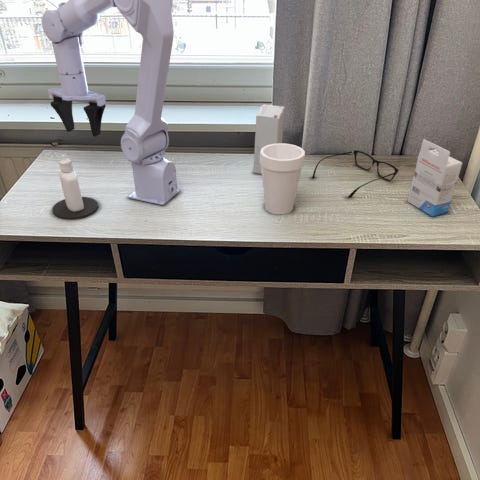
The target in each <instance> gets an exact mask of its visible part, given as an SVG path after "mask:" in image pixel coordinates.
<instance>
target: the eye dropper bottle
mask: <svg viewBox="0 0 480 480" xmlns="http://www.w3.org/2000/svg"><path fill="white" fill-rule="evenodd" d="M58 164H59V168H60V172H59V175H58V176H59V181H60V184H61V188H62V192H63V197H64V199H65V201H66V205H67V207H68V209H69V210H71V211H73V212H77V211H81V210H83V209H84V205H83V200H82V197H83V196H82V191H81V187H80V182H79V177H78V175H77V173H76V172H75V170H74V169H73V164H72V160H71V159H69V158H67V156H66V153H62V154H61V159H60V160H59V161H58Z"/></svg>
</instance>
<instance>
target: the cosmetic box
mask: <svg viewBox="0 0 480 480" xmlns="http://www.w3.org/2000/svg"><path fill="white" fill-rule="evenodd" d="M285 110H286V107H285V106H282V105H271V104H263V103H262V105H261V107H260V108H259V110H258V112H257V113H256V115H255V134H254V135H255V136H254V154H253V173H254V174H260V175H262V171H261V164H260V151H261V149H262V148H263V147H265V146H267V145H271V144H279V143H283V135H284V124H285Z"/></svg>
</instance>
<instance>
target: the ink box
mask: <svg viewBox="0 0 480 480" xmlns="http://www.w3.org/2000/svg"><path fill="white" fill-rule="evenodd" d="M417 156H418V157H417V160H416V165H415V169H414V173H413V178H412V182H411V185H410V191H409V194H408V199H407V202H408V203H410V204H411V205H412V206H414V207H415V208H417V209H419V210H420V211H422V212H424V213H425V214H427V215H428V216H430V217H432V218H433V217H436V216H441V215H443V214H446V213H449V211H450V208H451V203H452V200H453V198H454V197H453V196H454V193H455V190H456V186H457V182H458V181H459V180H458V179H459V177H460V173H461V169H462V166H463V161H460V160H458V159H456V158H454V157H453V156H451V151H450V150H448V149H445V148H444V147H442V146H440V145H438V144H435V143H433V142H431V141H429V140H427V139H426V138H424V139H423V140H422V142H421V146H420V150H419V153H418V155H417Z"/></svg>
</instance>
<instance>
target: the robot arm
mask: <svg viewBox="0 0 480 480" xmlns="http://www.w3.org/2000/svg"><path fill="white" fill-rule="evenodd" d="M173 2H174V0H68V1H66V2H60V3H58V8H56V9H46V10H44V13H43V14H42V16H41V26H42V30H43V32H44V35H45V36H46V37H47V39H48V40H49V41H51V44H52V49H53V54H54V59H55V63H56V68H57V73H58V77H59V81H60V86H61V87H51V88H48V89H47V93H48V98H49V99H52V101H51V102H50V107H52V109H53V110H54V111H55V112H56V114H57V115H58V117H59V119H60V120H61V122H62V124H63V126H64V128H65V130H66V132H68V133H70V132H72V131H75V122H74V115H73V102H77V103H83V104H84V103H85V104H88V105H86V106H83V111H84V112H85V114H86V117H87V119H88V122H89V127H90V130H91V134H92V136H93V137H97V136H99V135H101V128H102V120H103V115H104V112H105V109H106V106H107V105H106V104H107V102H106V96H105V94H100V93H98V92H95V91H91V90H89V86H88V80H87V76H86V71H85V65H84V60H83V59H84V58H83V53H82V48H81V47H82V45H83V41H82V36H83V33H84V32H85V31H87V30H89V29H90V28H92V27H94V26H95V25H96V24H98V22H99V19H100V14H101V13H104V12H105V11H107V10H109V9H111V8H117V10H118V11H119V13H120V14H121V15H122V16H123V18H124V19H125V20H126V22H128V23H129V25H130V26H131V27H132V29H133V30H134V31H135V32H136V33H138V34H140V35H141V37H142V43H141V53H140V60H139V61H140V63H139V69H138V70H139V72H138V80H137V90H136V97H135V108H134V114H133V116H131V119H129V121H128V122H127V124H126V125H125V129H124V133H123V135H122V136H121V139H120V148H121V151H122V153H123V155H124V156H125V158H126V159H127V160H128V161H129V162H130V163H131V168H132V169H131V170H132V175H133V176H132V177H133V183H134V191H132V192H131V193H130V194H128V198H129V199H132V200H136V201H141V202H145V203H150V204H155V205H160V206H164V205H165V204H167V203H168V202H169V201H170V200H171V199H173V197H175V196H176V195H177V194H178V193H179V192H180V190H179V188H178V180H177V169H176V165H175V163H174V162H173V161H170V160H168V159H166V158H165V157H164V156H166V150H167V148H168V147H169V144H170V136H169V133H168V130H169V123H168V122H167V121H166V120H165V119H164V118H163V117H162V115H163V108H164V102H165V95H166V88H167V82H168V76H169V69H170V62H171V56H172V49H173V42H174V33H175V31H174V23H173V14H172V13H173V12H172V9H173Z"/></svg>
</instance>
